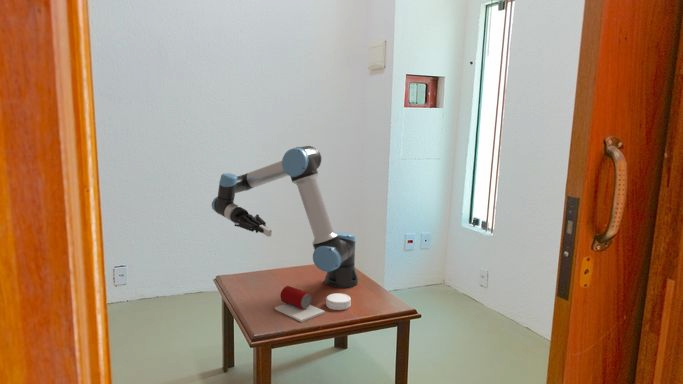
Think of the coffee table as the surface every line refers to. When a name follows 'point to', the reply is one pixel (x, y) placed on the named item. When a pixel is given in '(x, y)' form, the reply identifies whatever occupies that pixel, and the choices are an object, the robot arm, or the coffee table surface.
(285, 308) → the mat
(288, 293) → the beverage can
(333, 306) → the coaster
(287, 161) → the robot arm
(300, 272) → the coffee table surface
